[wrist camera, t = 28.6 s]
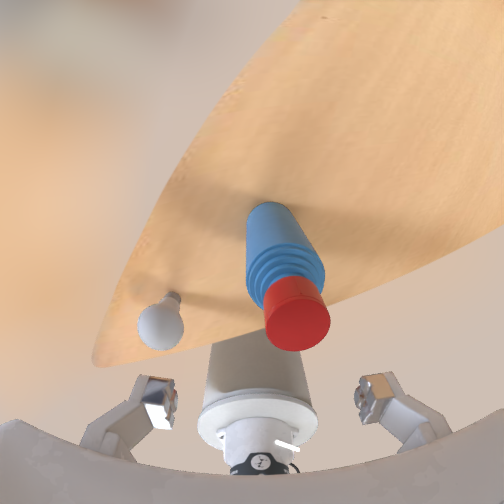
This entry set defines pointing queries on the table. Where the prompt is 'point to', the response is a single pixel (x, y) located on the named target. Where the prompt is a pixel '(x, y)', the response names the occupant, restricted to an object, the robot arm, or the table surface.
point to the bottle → (277, 251)
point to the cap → (295, 314)
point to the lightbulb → (162, 323)
